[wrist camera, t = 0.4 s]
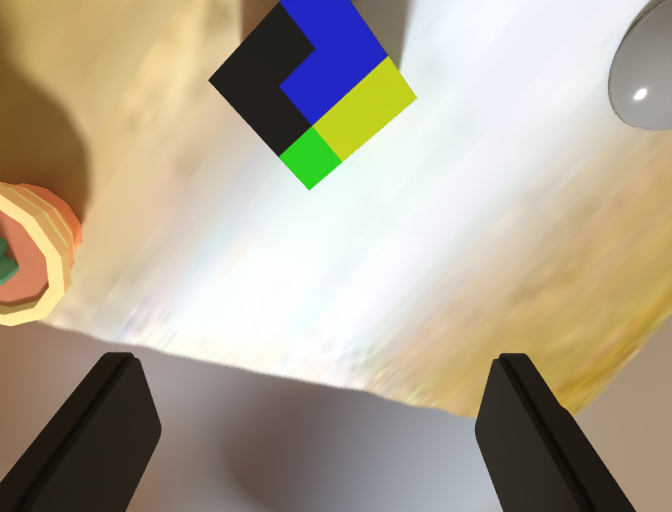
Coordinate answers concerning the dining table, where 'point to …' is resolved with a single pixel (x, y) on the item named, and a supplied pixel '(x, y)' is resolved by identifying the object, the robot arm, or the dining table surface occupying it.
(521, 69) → the dining table surface
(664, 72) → the slate coaster
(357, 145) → the puzzle toy
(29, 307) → the potted cactus
